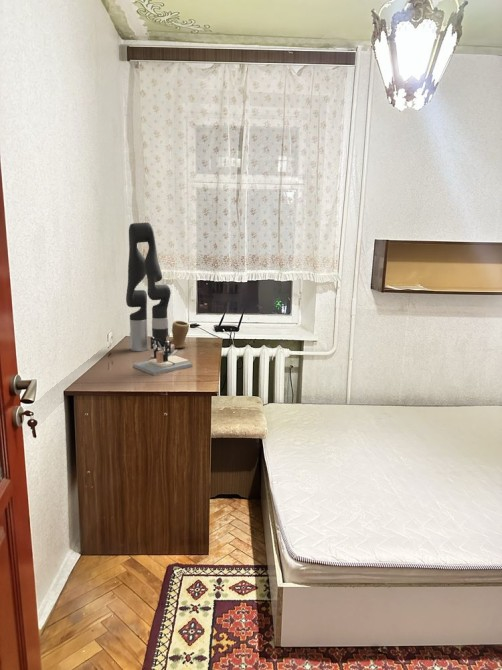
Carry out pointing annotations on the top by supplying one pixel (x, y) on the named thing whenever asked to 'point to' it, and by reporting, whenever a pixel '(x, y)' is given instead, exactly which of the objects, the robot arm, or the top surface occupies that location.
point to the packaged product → (168, 350)
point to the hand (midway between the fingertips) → (160, 359)
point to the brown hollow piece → (179, 333)
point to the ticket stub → (160, 360)
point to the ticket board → (155, 369)
